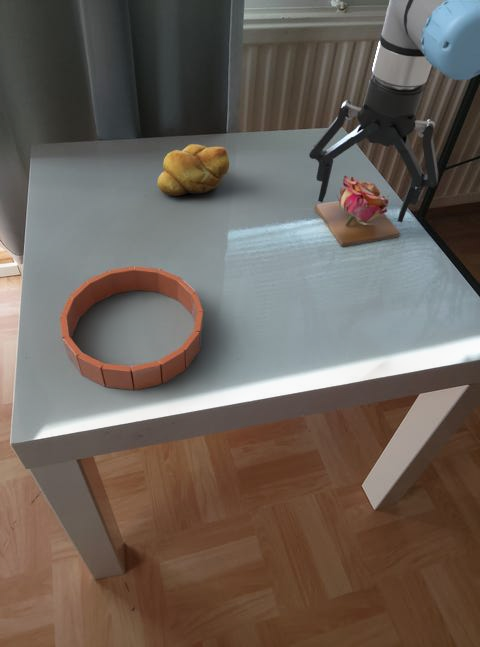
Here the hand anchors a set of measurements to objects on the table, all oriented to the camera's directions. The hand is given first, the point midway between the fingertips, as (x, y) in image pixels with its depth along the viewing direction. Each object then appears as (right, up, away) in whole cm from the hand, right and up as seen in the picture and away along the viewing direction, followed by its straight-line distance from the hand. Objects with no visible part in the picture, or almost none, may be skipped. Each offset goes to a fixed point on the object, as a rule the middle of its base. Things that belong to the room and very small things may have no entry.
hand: (360, 207), depth 85 cm
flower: (0, -2, +2) cm, 3 cm away
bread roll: (-30, +5, +7) cm, 31 cm away
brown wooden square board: (0, -2, +3) cm, 3 cm away
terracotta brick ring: (-35, -21, -17) cm, 44 cm away
